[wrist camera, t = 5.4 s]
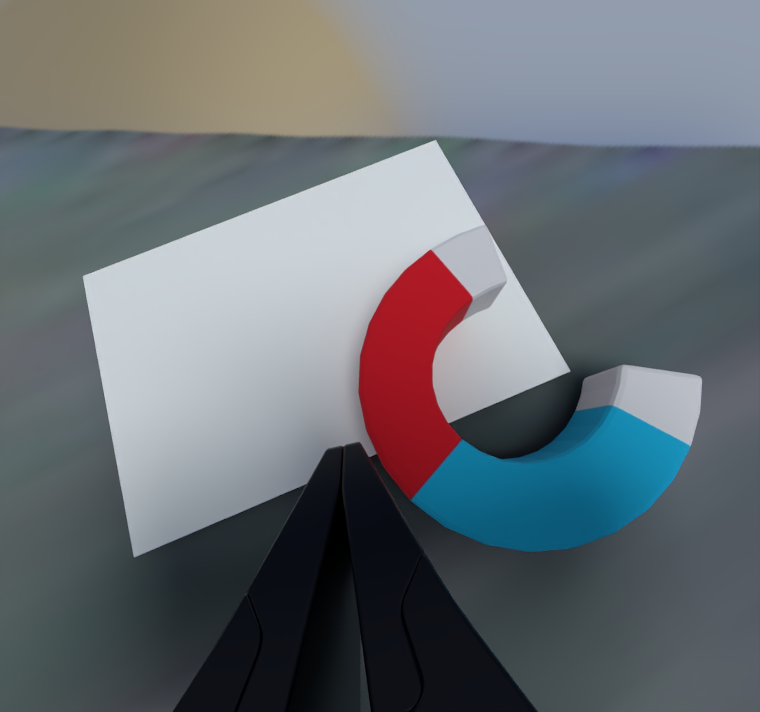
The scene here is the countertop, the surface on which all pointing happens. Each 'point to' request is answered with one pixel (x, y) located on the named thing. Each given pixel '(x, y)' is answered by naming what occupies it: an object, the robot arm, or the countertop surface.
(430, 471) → the magnet
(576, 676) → the countertop surface
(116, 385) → the white paper sheet
